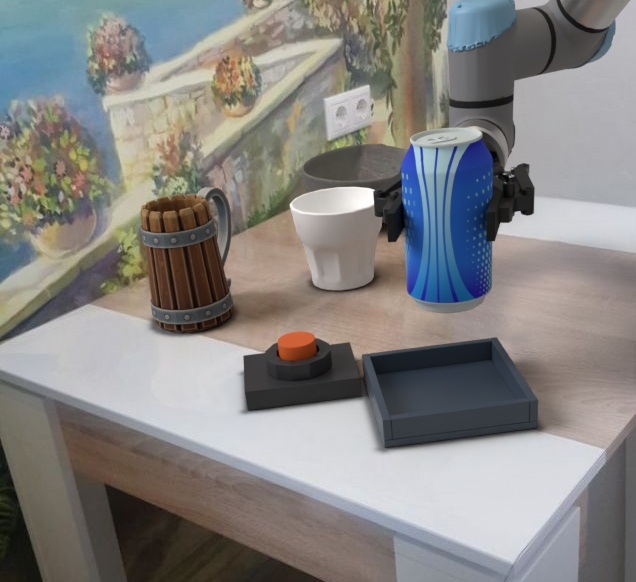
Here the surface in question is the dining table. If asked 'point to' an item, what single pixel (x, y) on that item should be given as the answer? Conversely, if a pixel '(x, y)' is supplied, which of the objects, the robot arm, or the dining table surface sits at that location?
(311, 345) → the button
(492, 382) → the shallow square tray
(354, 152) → the bowl
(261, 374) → the dark grey button base
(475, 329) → the dining table surface
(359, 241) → the cup
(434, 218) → the beer can
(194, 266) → the mug
